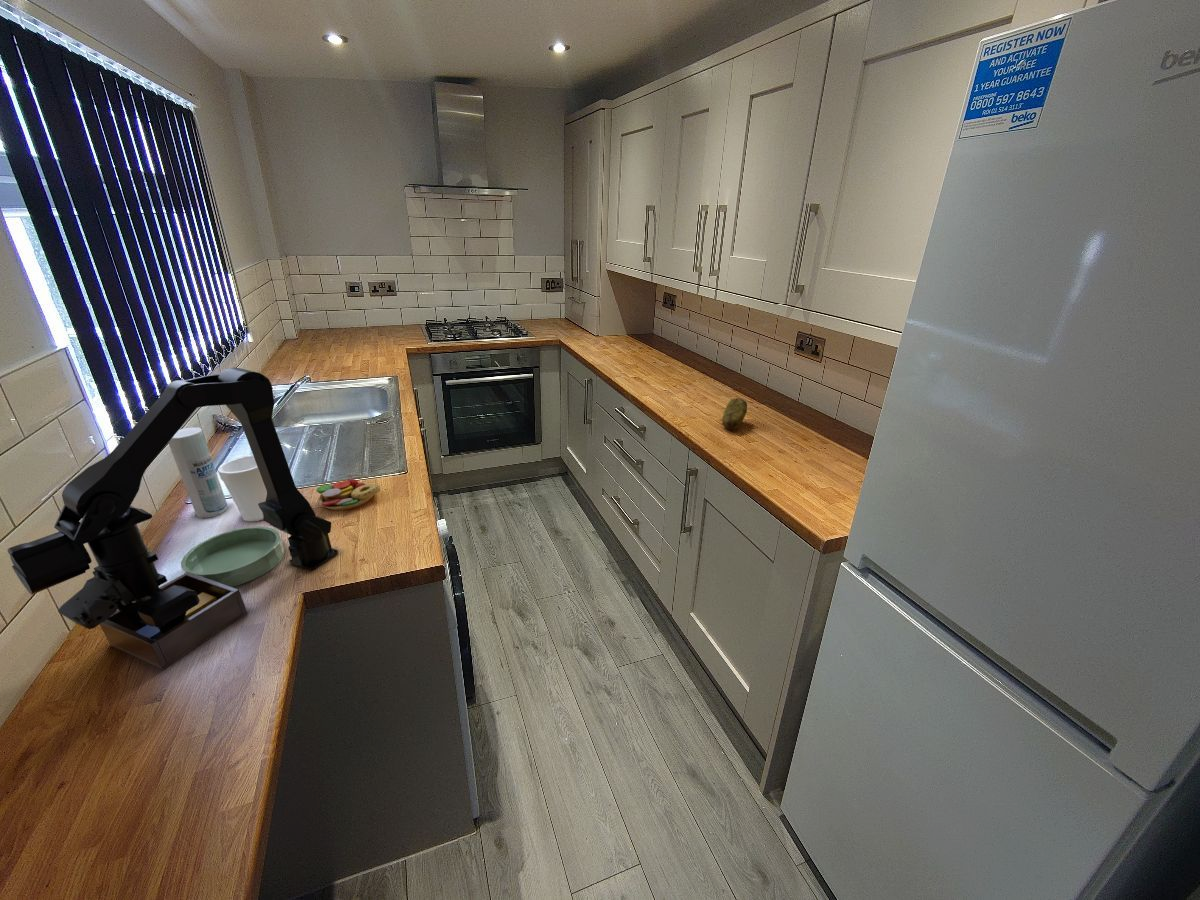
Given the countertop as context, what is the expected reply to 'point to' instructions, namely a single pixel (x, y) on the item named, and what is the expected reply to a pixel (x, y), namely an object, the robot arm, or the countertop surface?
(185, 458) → the spray can
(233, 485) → the foam cup
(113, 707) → the countertop surface
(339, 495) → the toy food set
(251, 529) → the bowl
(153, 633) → the blue gray block
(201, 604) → the yellow block
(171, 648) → the holder
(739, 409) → the olive green oval lump
